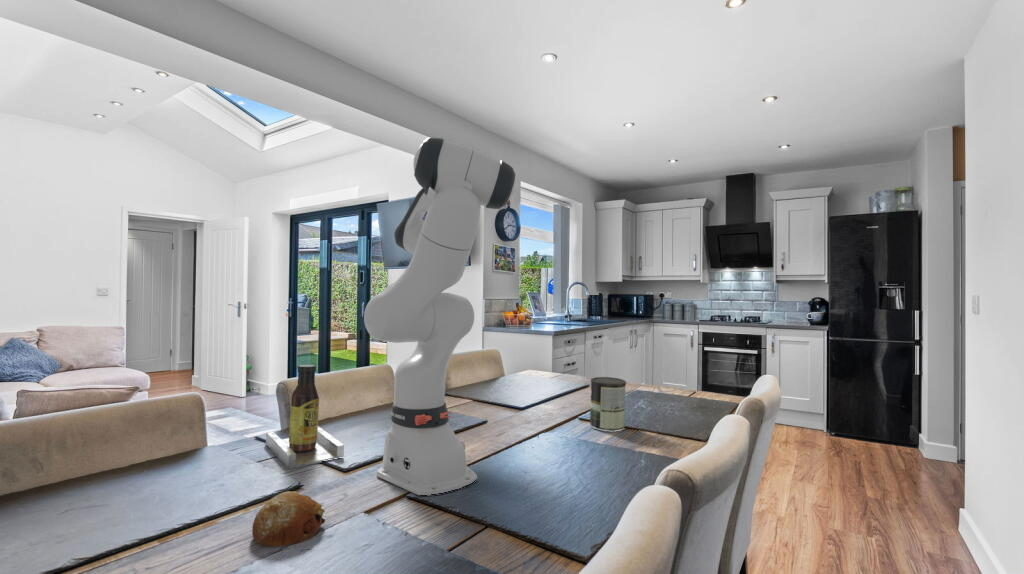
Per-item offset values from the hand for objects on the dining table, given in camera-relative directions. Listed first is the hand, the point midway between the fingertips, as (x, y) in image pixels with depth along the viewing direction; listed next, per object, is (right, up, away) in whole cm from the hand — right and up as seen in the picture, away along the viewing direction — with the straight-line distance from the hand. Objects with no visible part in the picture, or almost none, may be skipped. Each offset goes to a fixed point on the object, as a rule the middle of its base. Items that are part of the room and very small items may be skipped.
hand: (385, 317), depth 133 cm
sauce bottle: (-15, -30, -19) cm, 39 cm away
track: (-15, -31, -19) cm, 39 cm away
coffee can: (+64, -34, +9) cm, 73 cm away
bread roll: (-1, -31, -56) cm, 64 cm away
